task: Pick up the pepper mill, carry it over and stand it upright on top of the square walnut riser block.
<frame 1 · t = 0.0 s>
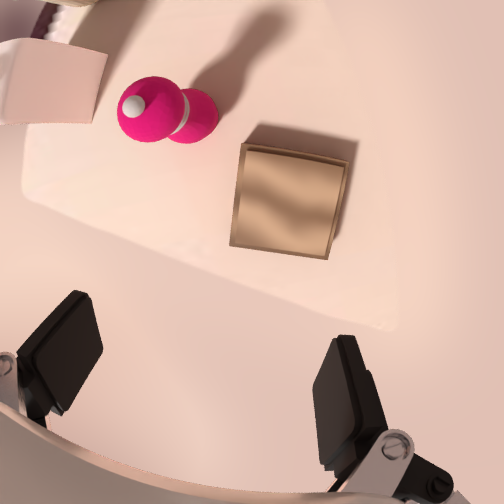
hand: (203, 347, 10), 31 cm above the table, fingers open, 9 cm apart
pepper mill: (196, 117, 35), on the table
milk: (74, 88, 32), on the table
riser: (286, 198, 38), on the table
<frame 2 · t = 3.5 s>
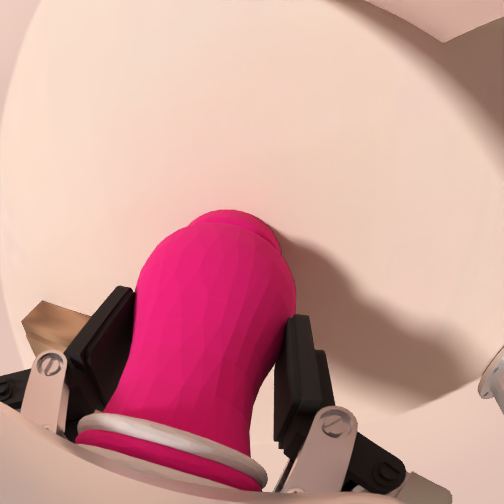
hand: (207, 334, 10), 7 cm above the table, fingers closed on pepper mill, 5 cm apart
pepper mill: (229, 258, 17), on the table, touching gripper
riser: (115, 374, 22), on the table
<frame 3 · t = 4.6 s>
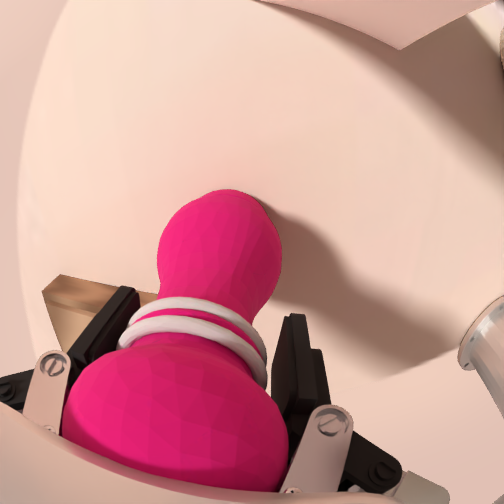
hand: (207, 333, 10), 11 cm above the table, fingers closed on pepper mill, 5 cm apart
pepper mill: (227, 229, 20), on the table, touching gripper
riser: (124, 340, 26), on the table
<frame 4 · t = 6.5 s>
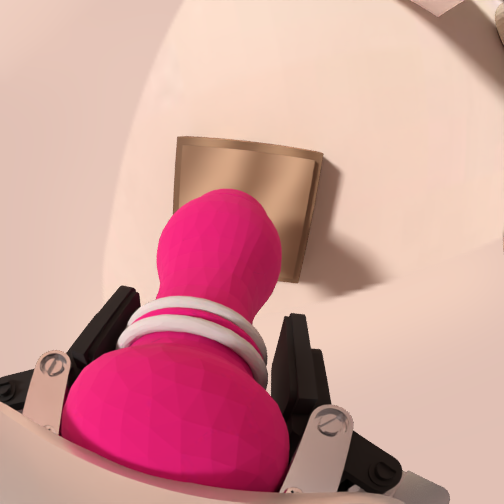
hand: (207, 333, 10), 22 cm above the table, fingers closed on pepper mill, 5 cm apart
pepper mill: (227, 229, 20), point 11 cm above the table, touching gripper
riser: (244, 204, 30), on the table
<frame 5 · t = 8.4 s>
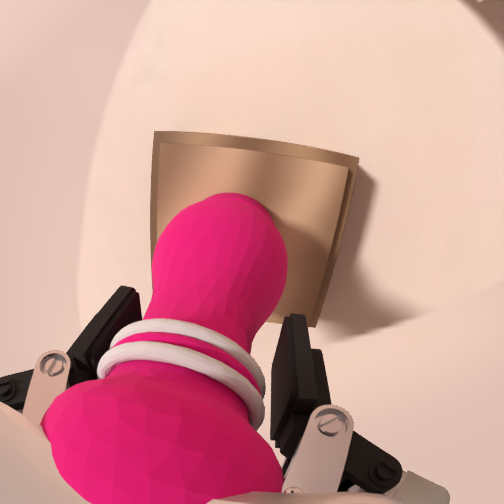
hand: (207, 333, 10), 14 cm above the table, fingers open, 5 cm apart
pepper mill: (230, 235, 19), point 4 cm above the table, touching gripper, riser
riser: (246, 223, 23), on the table
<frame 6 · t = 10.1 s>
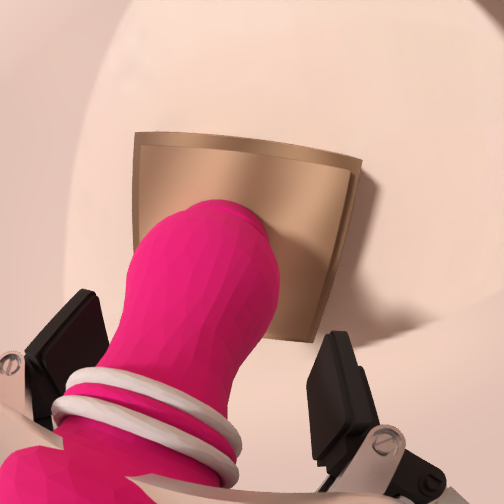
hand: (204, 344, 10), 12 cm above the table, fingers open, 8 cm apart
pepper mill: (219, 246, 17), point 4 cm above the table, touching riser
riser: (238, 231, 21), on the table
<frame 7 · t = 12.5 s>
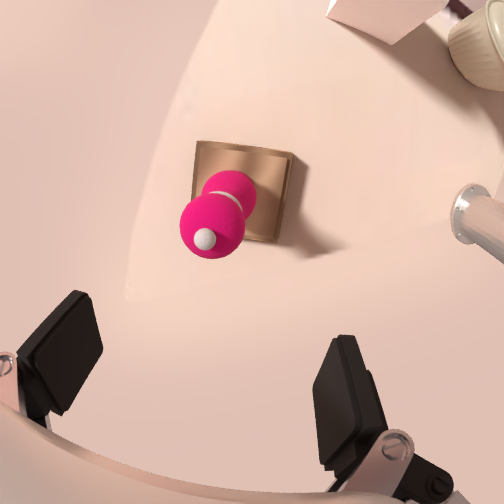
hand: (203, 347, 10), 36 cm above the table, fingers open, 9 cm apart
pepper mill: (232, 190, 40), point 4 cm above the table, touching riser
milk: (365, 7, 28), on the table
canister: (467, 57, 29), on the table
riser: (240, 188, 43), on the table
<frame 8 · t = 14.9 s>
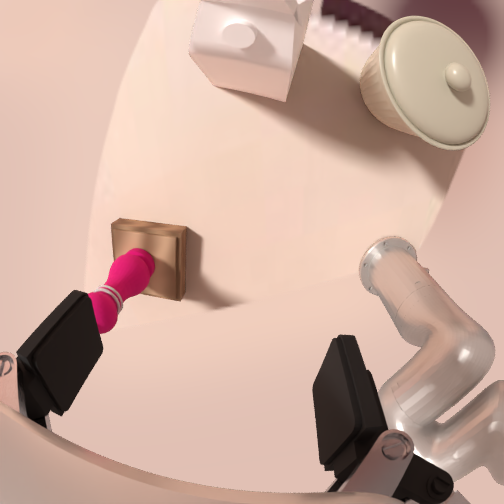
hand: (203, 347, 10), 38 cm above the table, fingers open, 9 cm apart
pepper mill: (140, 262, 48), point 4 cm above the table, touching riser
milk: (258, 62, 37), on the table
canister: (391, 92, 36), on the table
riser: (151, 256, 51), on the table
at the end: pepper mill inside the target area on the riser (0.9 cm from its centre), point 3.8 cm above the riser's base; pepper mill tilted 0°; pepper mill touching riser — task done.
